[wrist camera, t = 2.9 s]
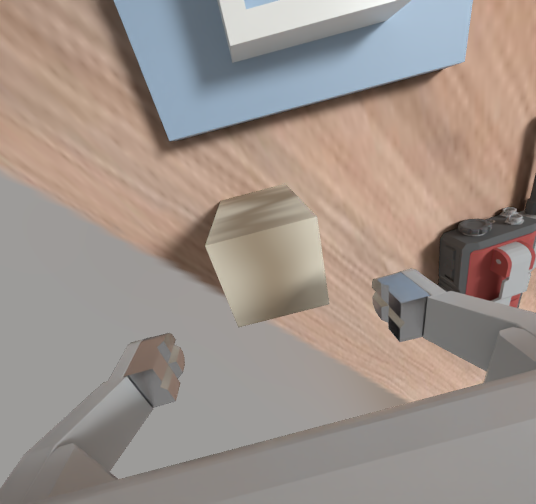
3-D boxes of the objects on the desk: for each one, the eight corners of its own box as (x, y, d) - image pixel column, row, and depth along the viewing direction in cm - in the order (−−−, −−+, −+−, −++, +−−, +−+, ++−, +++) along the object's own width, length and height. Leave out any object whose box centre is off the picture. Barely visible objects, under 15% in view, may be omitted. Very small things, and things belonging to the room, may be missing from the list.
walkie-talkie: (507, 303, 26) (553, 105, 17) (555, 332, 22) (649, 94, 13) (432, 327, 26) (437, 146, 17) (466, 360, 22) (496, 147, 13)
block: (285, 183, 17) (317, 216, 10) (296, 242, 19) (329, 304, 12) (220, 200, 17) (205, 246, 10) (239, 257, 19) (238, 327, 12)
